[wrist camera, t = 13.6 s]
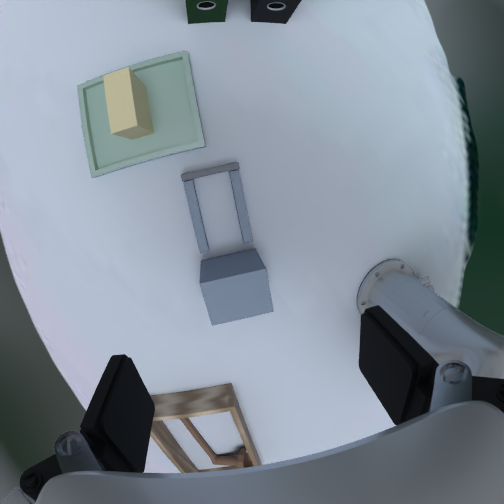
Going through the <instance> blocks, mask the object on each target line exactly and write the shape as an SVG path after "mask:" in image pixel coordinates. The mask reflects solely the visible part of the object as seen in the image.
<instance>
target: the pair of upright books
mask: <svg viewBox="0 0 504 504" xmlns="http://www.w3.org/2000/svg"><path fill="white" fill-rule="evenodd" d="M202 2H212V3H214V6H212V7H209V8H201V7H199V6H198V4H200V3H202ZM300 2H301V0H251V22H269V23H283V24H286V23H287V21H288V20H289V18H290V17H291V15H292V14H293V12H294V11H295V9H296V8H297V6H298V5H299V3H300ZM272 3H281V8H278V9H274V8H270V7H268V5H269V4H272ZM227 4H228V0H186V8H187V16H188V24H193V23H207V22H225V17H226V10H227Z"/></svg>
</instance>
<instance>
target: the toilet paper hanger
mask: <svg viewBox="0 0 504 504" xmlns="http://www.w3.org/2000/svg"><path fill="white" fill-rule="evenodd" d="M180 419H181V421H182V422H183V423H184V425H185V426H186V427H187V429H188V430H189V431H190V433H191V434H192V435H193V437H194V438H195V439H196V441H197V442H198V443H199V444H200V446H201V447H202V448H203V449H204V451H205V452H206V453H207V454H208V455H209V457H210V458H211V460H212V463H213V464H215V465H229V466H237V468H238V469H239V468H247V467H253V463H252V461H251V458H250V456H249V454H248V452H247V453H246V448H242V449H240V451H239V453H238V456H219V455H216V454H215V453H214V452H213V451H212V450H211V448H210V447H209V446H208V444H207V443H206V442H205V440H204V439H203V438H202V436H201V435H200V434H199V432H198V431H197V430H196V428H195V427H194V426H193V424H192V423H191V421H190V420H189V419H188V418H180Z"/></svg>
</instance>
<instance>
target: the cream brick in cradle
mask: <svg viewBox="0 0 504 504" xmlns="http://www.w3.org/2000/svg"><path fill="white" fill-rule="evenodd" d="M103 78H104V87H105V96H106V103H107V111H108V117H109V124H110V130H111V134H114V135H118V136H121V137H125V138H129V139H136V138H139V137H143V136H146V135H150V134H153V127H152V122H151V116H150V110H149V104H148V98H147V92H146V86H145V85H144V84H143V83H142V82H141V81H140V79H139V78H138V77H137V76H136V75H135V74H134V72H133V71H132V70H131V69H130V68H129V67H128V68H124V69H122V70H119V71H116V72H113V73H110V74H107V75H105V76H103Z"/></svg>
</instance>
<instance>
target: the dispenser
mask: <svg viewBox="0 0 504 504" xmlns="http://www.w3.org/2000/svg"><path fill="white" fill-rule="evenodd" d="M235 169H240V167H239V163H232V164H228V165H223V166H218V167H214V168H209V169H205V170H200V171H196V172H192V173H191V172H190V173H186V174H182V175H181V178H182V181H184V187H185V191H186V195H187V200H188V204H189V209H190V213H191V217H192V221H193V225H194V230H195V234H196V238H197V242H198V246H199V250H200V253H203V252H208V251H209V248H208V243H207V239H206V235H205V231H204V227H203V222H202V218H201V214H200V209H199V205H198V200H197V196H196V191H195V187H194V182H193V179H194V178H198V177H202V176H207V175H211V174H216V173H221V172H226V171H229V173H230V178H231V183H232V188H233V193H234V198H235V203H236V208H237V213H238V218H239V223H240V228H241V232H242V237H243V242H244V243H248V242H253V240H252V235H251V230H250V225H249V220H248V214H247V209H246V204H245V199H244V194H243V189H242V183H241V178H240V173H239V170H235ZM230 170H234V171H230ZM190 179H192V180H190ZM185 180H188V181H185ZM200 286H201V290H202V293H203V297H204V300H205V304H206V307H207V310H208V314H209V317H210V320H211V324H212V325H217V324H221V323H226V322H230V321H235V320H239V319H244V318H248V317H252V316H257V315H261V314H265V313H269V312H273V311H274V310H273V305H272V299H271V293H270V288H269V282H268V276H267V271H266V267H265V266H264V264H263V262H262V260H261V258H260V256H259V254H258V252H257V251H256V249H251V250H247V251H242V252H238V253H233V254H229V255H224V256H220V257H216V258H211V259H207V260H202V261H201V270H200Z"/></svg>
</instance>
